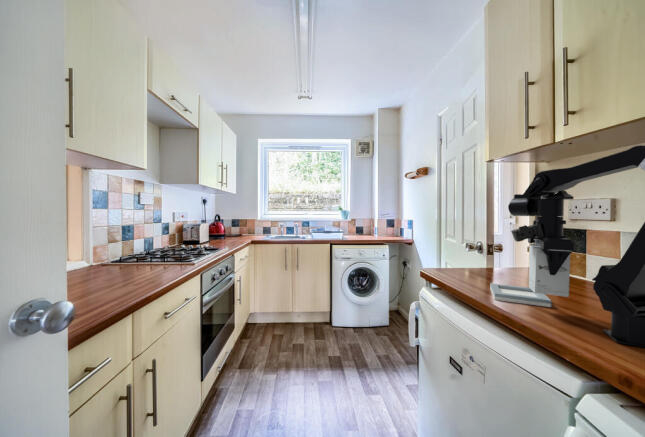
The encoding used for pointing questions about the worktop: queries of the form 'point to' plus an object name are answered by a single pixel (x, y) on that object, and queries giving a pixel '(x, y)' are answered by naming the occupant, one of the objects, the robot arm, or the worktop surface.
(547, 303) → the tile coaster
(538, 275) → the supplement box
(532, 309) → the worktop surface
